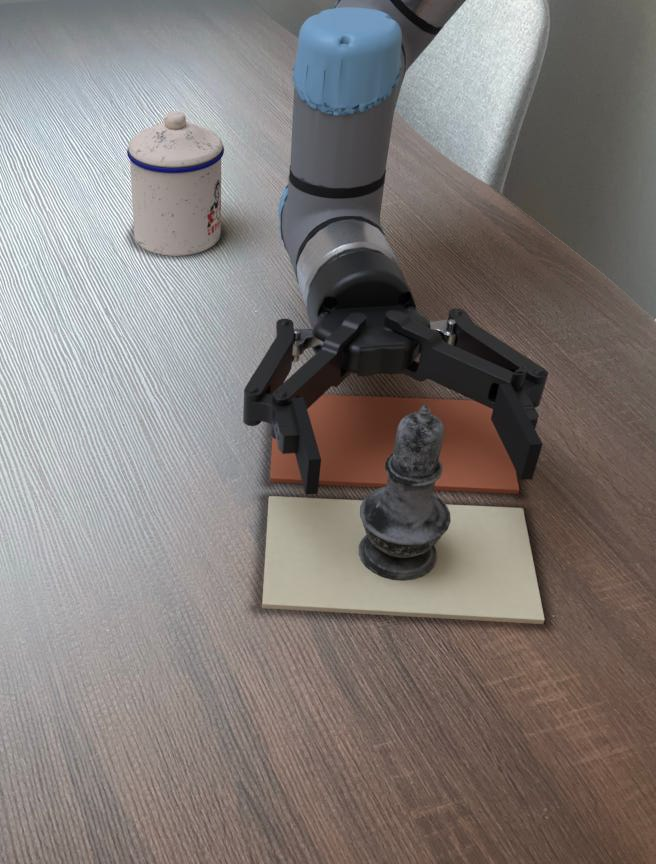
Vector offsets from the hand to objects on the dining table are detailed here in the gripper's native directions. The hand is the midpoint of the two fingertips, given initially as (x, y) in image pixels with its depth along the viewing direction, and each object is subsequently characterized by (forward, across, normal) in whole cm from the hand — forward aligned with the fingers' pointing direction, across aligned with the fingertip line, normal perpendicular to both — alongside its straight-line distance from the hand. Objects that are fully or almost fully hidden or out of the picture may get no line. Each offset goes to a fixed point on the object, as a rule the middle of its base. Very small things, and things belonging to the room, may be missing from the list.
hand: (423, 470), depth 63 cm
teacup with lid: (-51, +11, -9) cm, 53 cm away
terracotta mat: (-14, -2, -9) cm, 16 cm away
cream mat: (-1, 0, -9) cm, 9 cm away
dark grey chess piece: (-1, 0, -8) cm, 8 cm away
